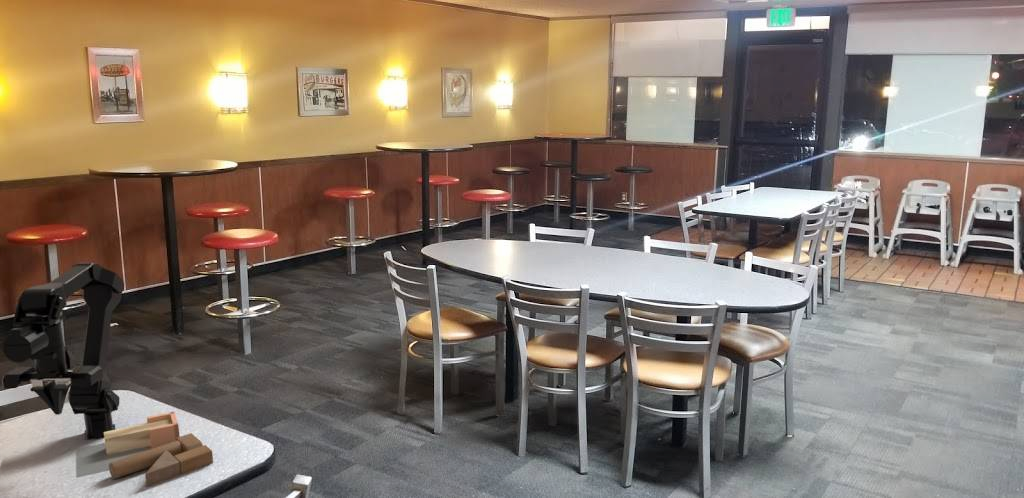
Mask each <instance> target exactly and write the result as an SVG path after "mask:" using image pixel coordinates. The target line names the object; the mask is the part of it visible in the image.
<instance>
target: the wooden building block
mask: <svg viewBox="0 0 1024 498" xmlns="http://www.w3.org/2000/svg"><path fill="white" fill-rule="evenodd" d="M169 424H172V422H171V419H170V418H169V419H164V420H159V421H154V422H150V423H147V422H146V423H141V424H136V425H131V426H126V427H122V428H121V427H120V428H118V429H116V428H115V430H112V431H107V432H104V437H103V439H104V443H105V446H106V453H107V455H111V454H116V453H120V452H125V451H129V450H134V449H138V448H143V447H147V446H151V440H150V432H149V429H150V428H154V427H159V426H164V425H169Z"/></svg>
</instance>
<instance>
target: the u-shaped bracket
mask: <svg viewBox="0 0 1024 498" xmlns="http://www.w3.org/2000/svg"><path fill="white" fill-rule="evenodd" d="M169 418H170V419H171V422H172V424H169V425H164V426H159V427H154V428H150V429H149V432H150V440H151V448H152V449H153V448H156V447H159V446H162V445H165V444H168V443H171V442H174V441H176V438H178V437H181V436H180V428H179V422H178V419H177V416H176V412H175V411H171V412H166V413H161V414H155V415H151V416H147V417H146V423H150V422H154V421H159V420H164V419H169Z"/></svg>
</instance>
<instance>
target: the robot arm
mask: <svg viewBox="0 0 1024 498" xmlns="http://www.w3.org/2000/svg"><path fill="white" fill-rule="evenodd" d="M124 289H125V280H124V279H123V278H122V277H121V276H119V274H117V273H116V272H115V271H112V270H110V269H107V268H104V267H103V266H101V265H100V264H99V263H96V262H77V263H75V264H73V265H72V267H71V268H70V269H68V270H67V271H65V272H64V273H62V274H61V275H58V277H56V278H55V279H53V280H51V281H50V282H48V283H46V284H40V285H39V284H38V285H35V286H34V285H33V286H31V287H28V288H25V289H23V290H22V292H21V294H20V296H19V298H18V300H17V305H16V309H15V313H14V317H13V321H12V326H13V328H11V329H10V330H9V332H10V336H8V337H6V339H5V340H4V341H3V345H2V352H3V354H4V355H5V357H6V358H7V359H9V360H10V361H12V362H13V363H24V362H27V361H28V360H34V365H35V367H33V366H17V367H15V368H13V369H12V370H10V371H8V372H7V373H4V375H3V376H2V379H1V385H2V388H3V389H17V388H18V387H19V386H21V383H22V382H31V386H32V387H31V388H30V392H34V393H35V394H36V395H37V396H39V398H41V399H42V400H43V402H44V403H45V404H46V405H47V406H48V407H49V408H50V410H51V411H52V412H53V413H54V415H56V416H57V415H59V416H60V415H61V414H62V413H63V410H64V406H65V401H66V397H67V400H68V403H69V405H70V407H71V410H72V412H73V415H80V414H81V415H82V414H83V418H84V419H83V420H84V425H85V430H84V441H91V440H97V439H101V438H104V432H107V431H112V430H116V424H114V423H113V415H112V413H113V412H116V411H118V409H119V406H120V396H119V395H118V394H116V393H115V392H114V391H113V390H112V382H111V380H110V378H109V376H108V375H107V373H106V364H107V357H108V347H109V340H110V339H109V338H110V330H111V321H112V315H113V314H112V313H113V311H114V310H115V308H116V307H117V306H118V305H119V304H120V302H121V300H122V294H123V292H124ZM78 291H82V299H83V301H84V302H85V304H86V306H87V307H88V317H87V324H86V333H85V339H84V340H85V341H84V348H83V349H84V350H83V351H82V350H77V351H76V350H74V351H73V350H72V351H71V350H70V347H69V346H68V345H65V342H64V335H63V329H62V324H61V323H62V322H61V321H62V320H64V319H65V318H66V316H65V315H64V314H63V313H62V311H63V310H64V309H65V308H66V306H67V299H69V298H70V297H71V296H73V295H74V294H76V292H78ZM17 326H18V327H17ZM82 353H83V354H82ZM75 366H81V367H79V368H78V369H76V370H75V371H73V370H72V369H73V368H74V367H75ZM68 370H70V371H68ZM67 395H68V396H67Z"/></svg>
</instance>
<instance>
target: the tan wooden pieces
mask: <svg viewBox="0 0 1024 498" xmlns="http://www.w3.org/2000/svg"><path fill="white" fill-rule="evenodd" d="M213 455H214V454H213V450H212V449H211V448H210V447H208V446H207V445H205V444H204V445H203V442H202V441H201V440H200V438H198V437H197V436H196V435H194V434H193V433H192V432H191V433H187V434H185V435H182V436H180V437H178V438H176V441H174V442H171V443H168V444H165V445H162V446H159V447H156V448H153V449H150V450H147V451H144V452H140V453H137V454H134V455H131V456H128V457H125V458H122V459H119V460H116V461H113V462H111V463H109V470H108V471H109V473H110V476H111V478H112V479H114V480H115V479H119V478H121V477H125V476H127V475H130V474H133V473H136V472H139V471H141V470H142V471H143V470H145V469H148V470H147V472H145V474H144V475H145V483H146V484H145V485H146V488H147V487H151V486H155V485H156V484H159V483H162V482H164V481H167V480H170V479H173V478H175V477H179V476H181V475H185V474H188V473H190V472H193V471H195V470H198V469H201V468H203V467H206V466H208V465H211V464H214V460H213V458H214V457H213Z"/></svg>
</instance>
